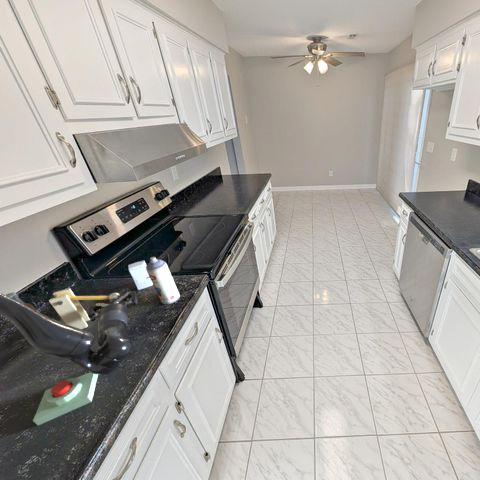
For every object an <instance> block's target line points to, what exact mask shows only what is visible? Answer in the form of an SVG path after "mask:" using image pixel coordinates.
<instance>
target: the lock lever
mask: <svg viewBox="0 0 480 480" xmlns="http://www.w3.org/2000/svg"><path fill="white" fill-rule="evenodd" d="M63 295H66V294H57V296H56V297H59V296H63ZM67 296H68V297H69V299H70V300H78V301H97V300H104V301H109V303H111V302H114V301H116V300H118V299H119V298H120V297H121V296H122V295H121V294H120V293H118V292H112V293H110V294H108V295H75V296H69V294H67Z"/></svg>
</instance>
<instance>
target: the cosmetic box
mask: <svg viewBox="0 0 480 480" xmlns="http://www.w3.org/2000/svg"><path fill="white" fill-rule="evenodd" d="M146 266H147V263H146V261H145V260H140V261H135V262H134V263H130V264H128V272H129V275H130V277H131V278H132V280H133V281H134V284H135V286H136V288H137V290H138V291H140V290H143V289H147V288H149V287H151V286H154V285H153V283H152V281H151V279H150V277H149V275H148V273H147V270H146Z"/></svg>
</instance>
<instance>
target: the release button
mask: <svg viewBox="0 0 480 480" xmlns="http://www.w3.org/2000/svg"><path fill="white" fill-rule="evenodd" d="M51 388H52V389H51V393H52V394H53V395H54V396H55V397H60V396H63V395H64V394H66V393H67V392H68V391H69V390H70V389H71V388H72V385H71V383H70V382H69V381H68V380H67V379H65V380H61V381H59V382H57V383H56V384H55V385H54V386H53V387H51Z"/></svg>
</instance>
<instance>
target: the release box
mask: <svg viewBox="0 0 480 480" xmlns="http://www.w3.org/2000/svg"><path fill="white" fill-rule="evenodd" d="M98 377H99V375H95V374H93V373H91V372H88V373H84V374H82V375H80V376H78V377H69V378H67V379H66V380H68V381H69V382H70V383H71V385H72V388H71V389H70V390H69V391H68V392H67V393H66V394H64V395H63V396H60V397H55V396H54V395H53V394H52V393H51V389H52V388H53V387H51V388H48V389H46V390H44V393H43V395H42V398H41V401H40V402H39V405H38V407H37V410H36V413H35V415H34V417H33V419H32V422H33V423H35V425H37V426H40V425H43V424H46V423H47V422H49V421H52V420H54V419H56V418H58V417H60V416H63V415H65V414H67V413H70V412H73V411H74V410H76V409H79V408H81V407H83V406H86V405H88V404H90V403H92V402H93V399H94V394H95V389H96V386H97V381H98Z"/></svg>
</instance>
